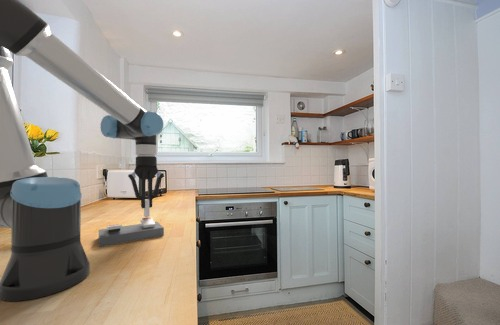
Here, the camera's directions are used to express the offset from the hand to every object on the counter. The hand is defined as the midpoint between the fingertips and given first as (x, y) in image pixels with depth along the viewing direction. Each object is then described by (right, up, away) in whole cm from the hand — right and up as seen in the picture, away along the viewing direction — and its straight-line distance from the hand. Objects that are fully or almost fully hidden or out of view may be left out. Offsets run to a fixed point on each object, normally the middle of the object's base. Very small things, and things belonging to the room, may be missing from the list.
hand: (146, 216), depth 88 cm
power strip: (-3, -6, -5) cm, 9 cm away
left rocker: (-8, -2, -8) cm, 12 cm away
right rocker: (+1, -2, -2) cm, 3 cm away
